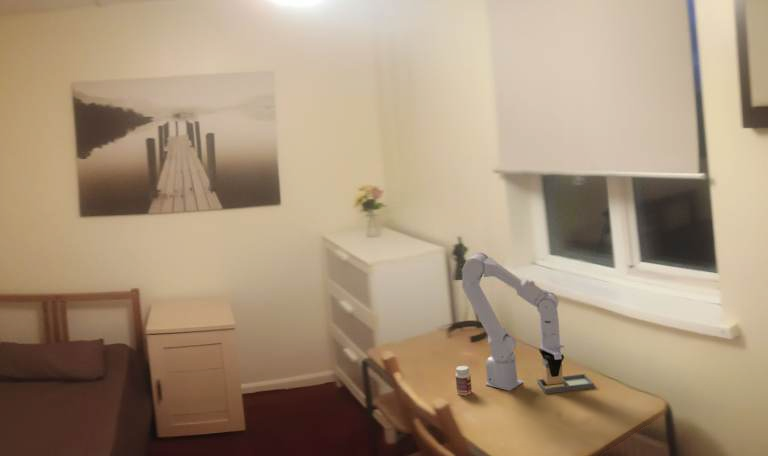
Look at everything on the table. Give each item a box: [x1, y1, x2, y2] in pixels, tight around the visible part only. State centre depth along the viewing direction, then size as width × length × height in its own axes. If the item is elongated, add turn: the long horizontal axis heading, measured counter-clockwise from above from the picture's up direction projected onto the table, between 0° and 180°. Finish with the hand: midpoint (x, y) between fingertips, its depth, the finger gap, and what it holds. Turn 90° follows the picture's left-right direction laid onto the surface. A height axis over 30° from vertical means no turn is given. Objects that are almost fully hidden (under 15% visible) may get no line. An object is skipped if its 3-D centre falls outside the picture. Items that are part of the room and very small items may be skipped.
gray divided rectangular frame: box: [536, 373, 595, 395], centre depth 204 cm, size 16×8×2 cm, turn 92°
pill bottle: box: [455, 365, 473, 396], centre depth 207 cm, size 5×5×8 cm
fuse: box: [541, 358, 564, 386], centre depth 203 cm, size 5×4×7 cm
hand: (552, 373), depth 204 cm, fingers closed on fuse, 4 cm apart
